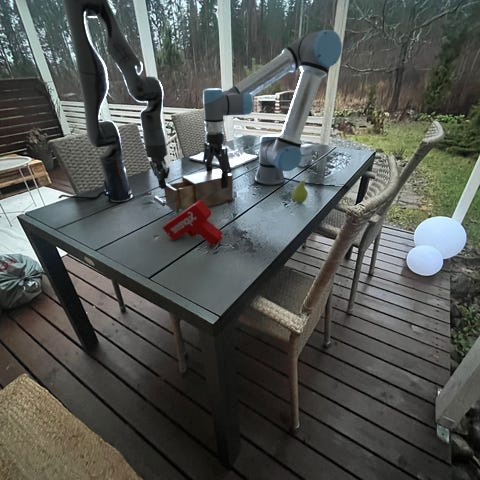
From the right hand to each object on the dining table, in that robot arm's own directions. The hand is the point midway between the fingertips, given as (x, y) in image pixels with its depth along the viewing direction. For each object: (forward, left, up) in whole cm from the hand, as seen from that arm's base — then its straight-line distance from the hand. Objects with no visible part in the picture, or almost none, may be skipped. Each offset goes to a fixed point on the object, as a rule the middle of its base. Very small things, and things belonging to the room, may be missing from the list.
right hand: (217, 184), depth 122 cm
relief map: (+21, -60, -7) cm, 64 cm away
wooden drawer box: (+3, +4, -7) cm, 9 cm away
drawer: (+9, +15, -5) cm, 18 cm away
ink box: (-31, -62, -7) cm, 70 cm away
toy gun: (-5, +36, -7) cm, 37 cm away
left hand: (+14, +21, +5) cm, 26 cm away
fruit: (-36, -7, -7) cm, 38 cm away
